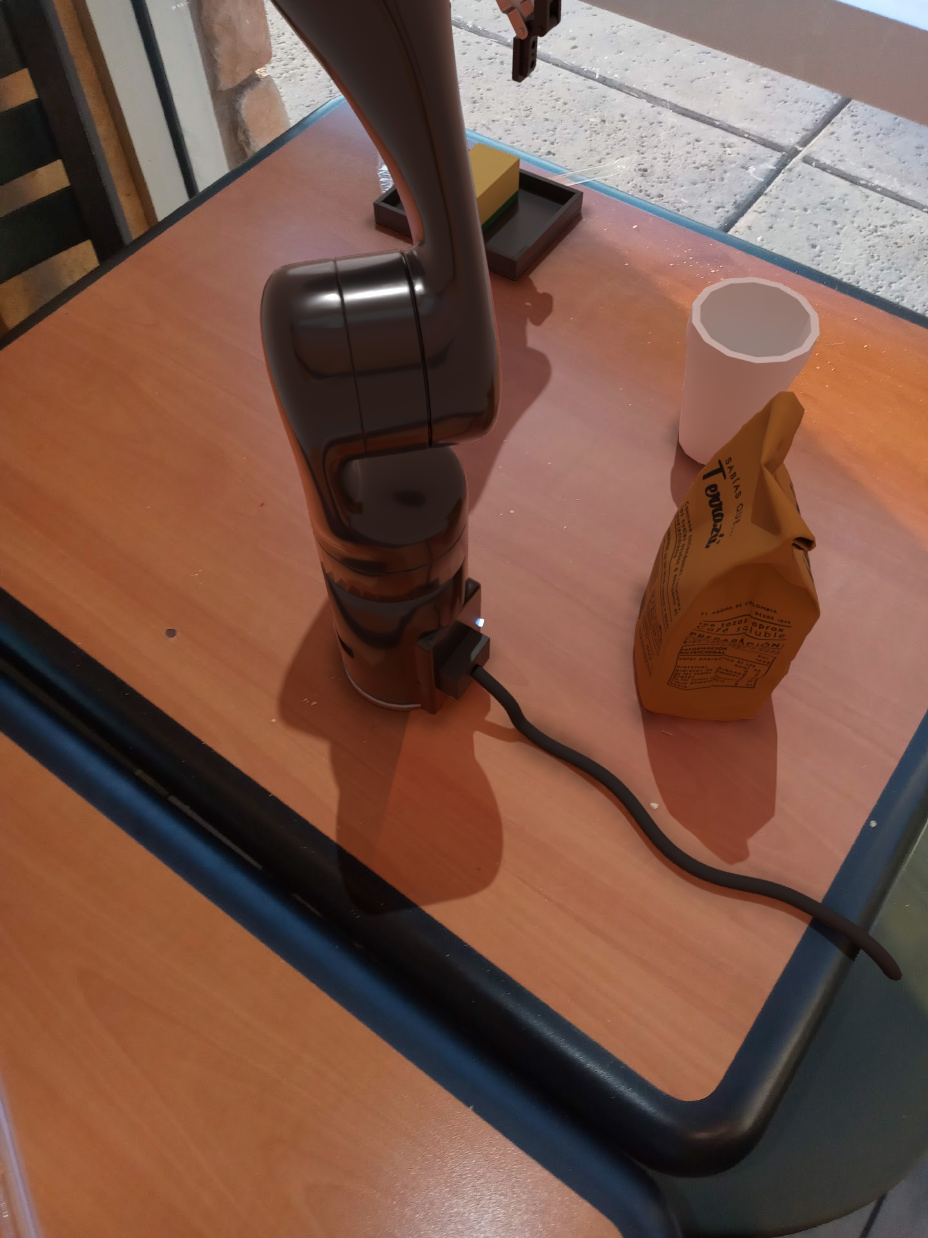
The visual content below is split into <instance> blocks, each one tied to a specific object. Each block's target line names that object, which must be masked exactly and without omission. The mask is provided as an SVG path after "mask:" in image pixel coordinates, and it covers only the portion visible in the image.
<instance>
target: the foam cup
mask: <svg viewBox="0 0 928 1238" xmlns="http://www.w3.org/2000/svg"><path fill="white" fill-rule="evenodd" d="M820 335H821V332H820V319H819V313H817V311H816V310H815V309H814V307H813V306H812V305H811V304H810V302H809V301H808V299H807V298H806V297H805V296H804V295H802V294H800V293H799V292H797V291H795V290H794V289H792V288H791V287H788V286H787V285H786V284H783V283H782V282H777V281H773V280H769V279H764V278H760V277H757V276H748V277H731V278H725V279H723V280H720V281H718V282H716V283H713V284H711V285H709V286H706V287H704V288H703V289H702V290H701V292H700V293H699V294H698V296H697V297H696V298H695V300H694V301H693V302H692V304H691V308H690V312H689V314H688V319H687V324H686V327H685V348H686V351H685V365H684V375H683V384H682V395H681V403H680V415H679V429H678V443H679V445H680V447H681V448H682V450H683V452H684V454H685V455H687V457H690V459H692V460H694V461H695V462H697V463H698V464H700V465H704V466H705V465H706V464H707V463H708V462H709V461H710V460H711V458H712V457H713V456H714V454H715V453H716V452H717V451H718V450H719V449H720V448H721V447H723V446H724V445H725V444H726V443H727V442H729V441H730V440H731V439H732V438H733V437H734V436H735V435H736V433H737V432H738V431H739V430H740V429H741V428H742V426H743V425H744V424H746V423H747V422H748V421H749V420H750V419H751V418H752V417H753V416H754V415H755V414H756V413H758V412H760V411H761V410H762V409H763V408H764V406H765V405H766V404H767V403H768V402H769V401H770V400H771V399H772V398H773V397H774V396H775V395H776V394H778V393H779V392H780V391H781V392H788V390H789V388H790V387H791V385H792V384H793V382H794V381H795V379H796V378H797V376H799V375H800V373H801V372H802V371H803V369H804V368H805V366H806V365H807V363H808V362H809V360H810V359H811V356H812V354H813V351H814V349H815V346H816V344H817V342H818V339H819V337H820Z"/></svg>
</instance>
